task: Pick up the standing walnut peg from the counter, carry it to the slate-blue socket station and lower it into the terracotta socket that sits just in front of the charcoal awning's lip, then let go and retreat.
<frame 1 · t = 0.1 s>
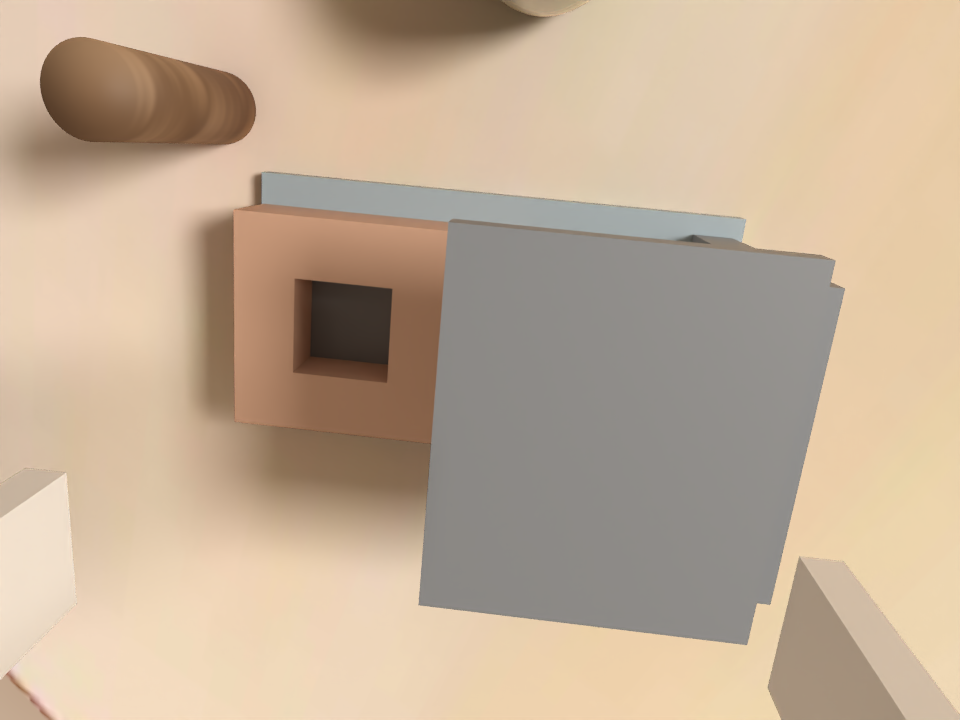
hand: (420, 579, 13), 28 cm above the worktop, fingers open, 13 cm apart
peg: (222, 108, 38), on the worktop
station: (488, 323, 40), on the worktop
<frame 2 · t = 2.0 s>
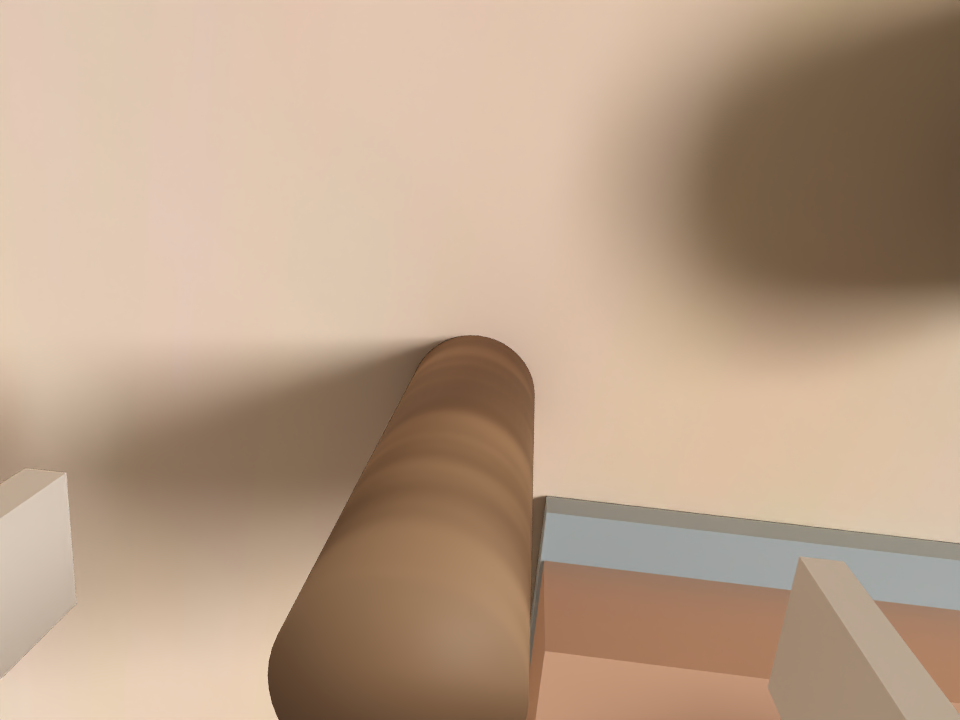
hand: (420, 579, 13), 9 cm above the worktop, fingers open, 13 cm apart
peg: (473, 394, 21), on the worktop
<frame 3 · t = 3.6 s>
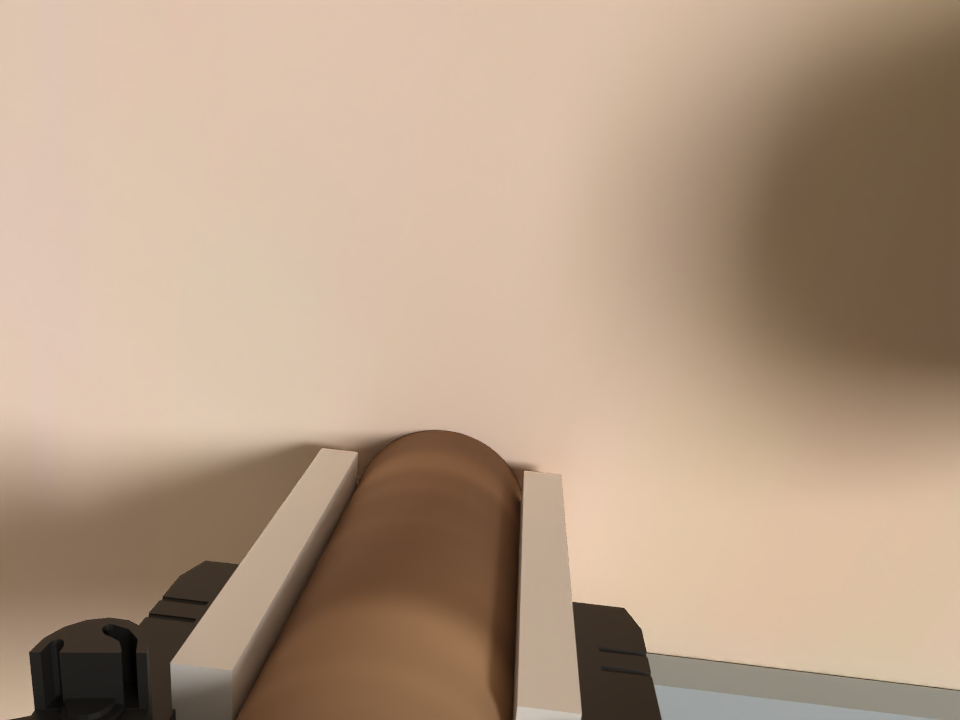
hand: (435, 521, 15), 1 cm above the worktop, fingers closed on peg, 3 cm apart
peg: (439, 508, 16), on the worktop, touching gripper
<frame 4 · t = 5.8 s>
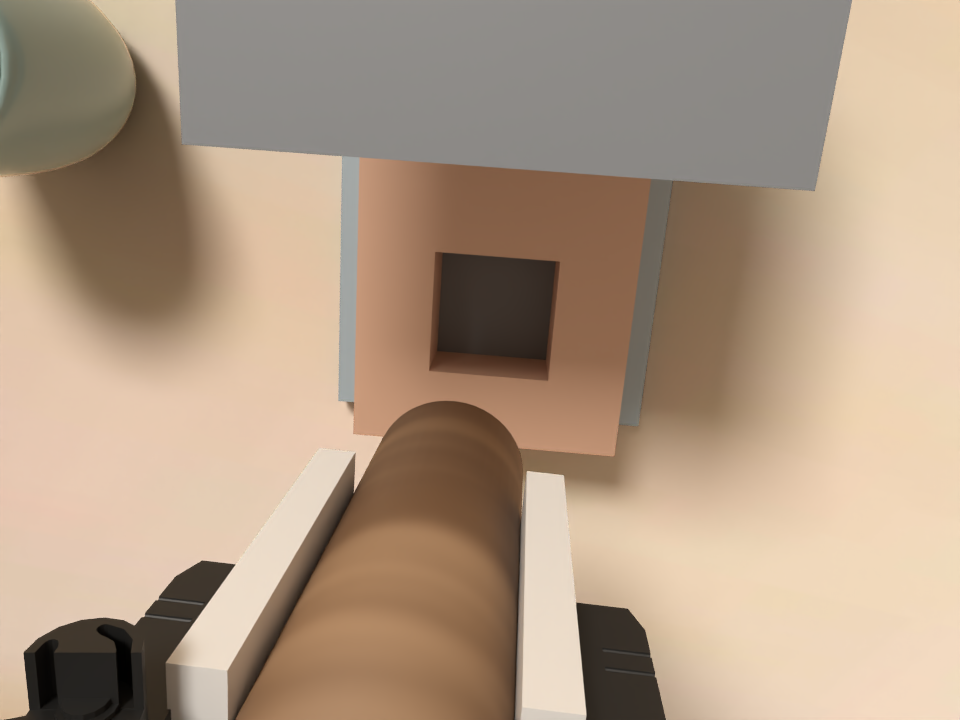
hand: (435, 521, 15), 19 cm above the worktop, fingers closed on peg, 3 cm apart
cup: (78, 78, 32), on the worktop
peg: (449, 470, 18), point 17 cm above the worktop, touching gripper
station: (509, 133, 31), on the worktop
when the fingers open (6 cm above the worktop, at t = 8.0 s): peg stays where it is, resting on station.
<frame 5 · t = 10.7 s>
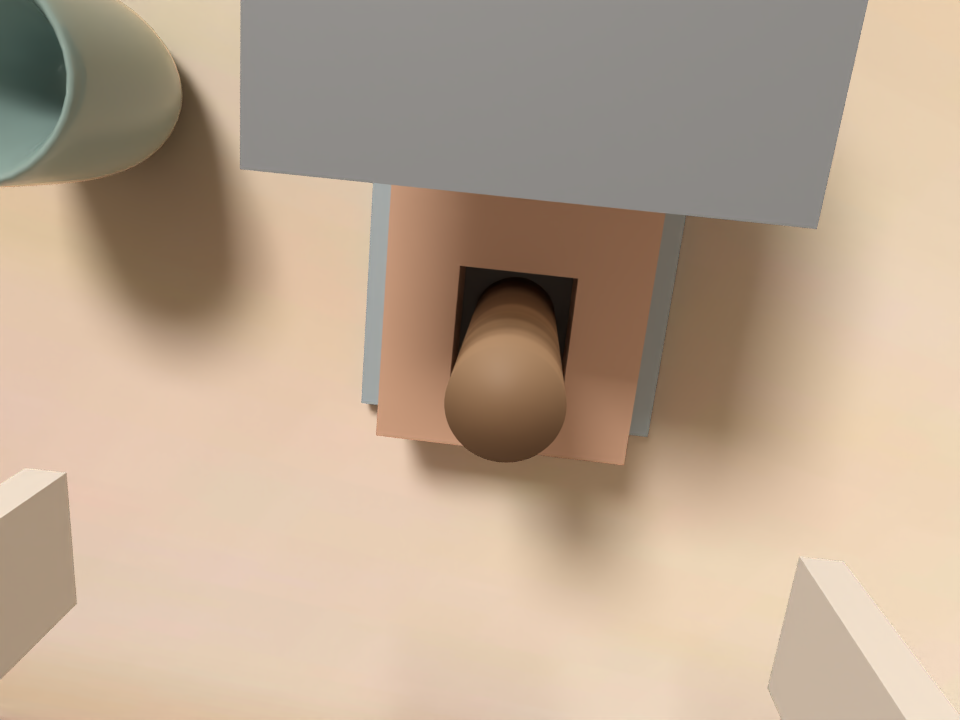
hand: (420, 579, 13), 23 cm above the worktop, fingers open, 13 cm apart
cup: (126, 90, 34), on the worktop
peg: (514, 316, 33), point 2 cm above the worktop, touching station
station: (533, 153, 33), on the worktop
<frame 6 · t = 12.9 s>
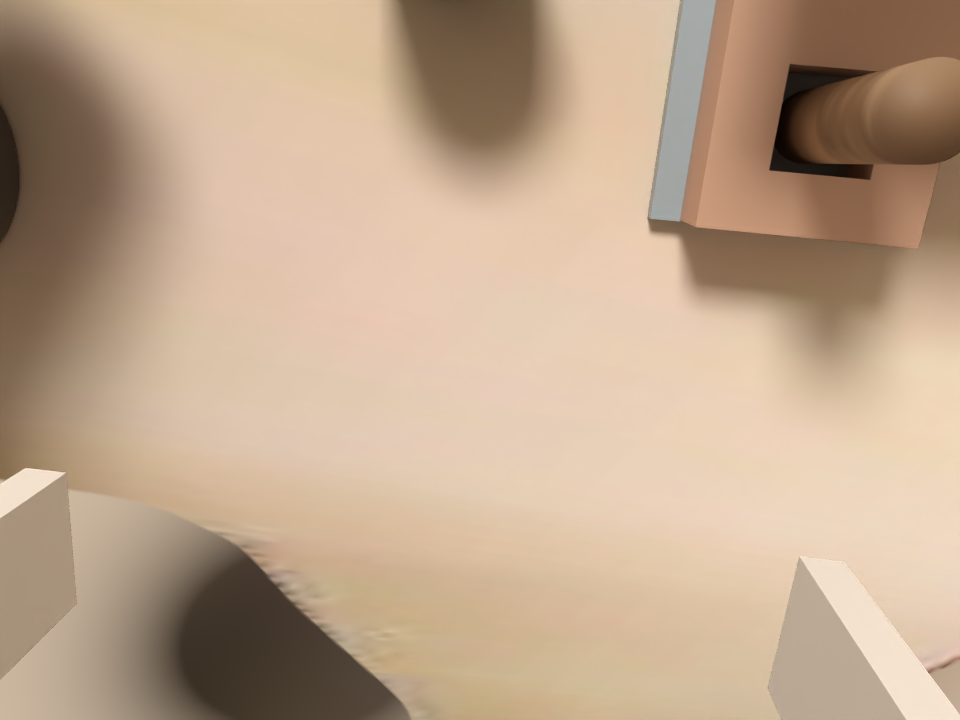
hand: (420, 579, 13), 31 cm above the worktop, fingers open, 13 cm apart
peg: (807, 126, 37), point 2 cm above the worktop, touching station
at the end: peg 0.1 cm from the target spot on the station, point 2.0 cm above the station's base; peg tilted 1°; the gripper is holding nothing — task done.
